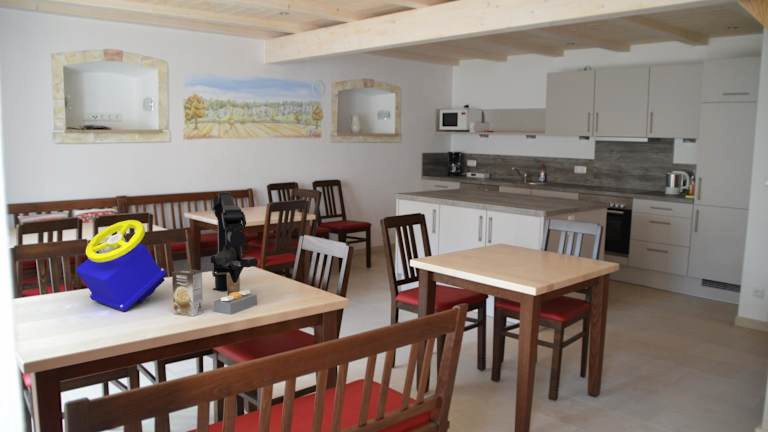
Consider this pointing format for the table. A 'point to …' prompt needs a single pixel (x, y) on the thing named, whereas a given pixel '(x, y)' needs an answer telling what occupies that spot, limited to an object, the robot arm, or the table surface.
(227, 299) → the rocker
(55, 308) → the table surface
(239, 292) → the block
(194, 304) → the coffee box
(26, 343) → the table surface
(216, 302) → the switch panel
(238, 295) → the block
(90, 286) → the control box
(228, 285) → the wood post
